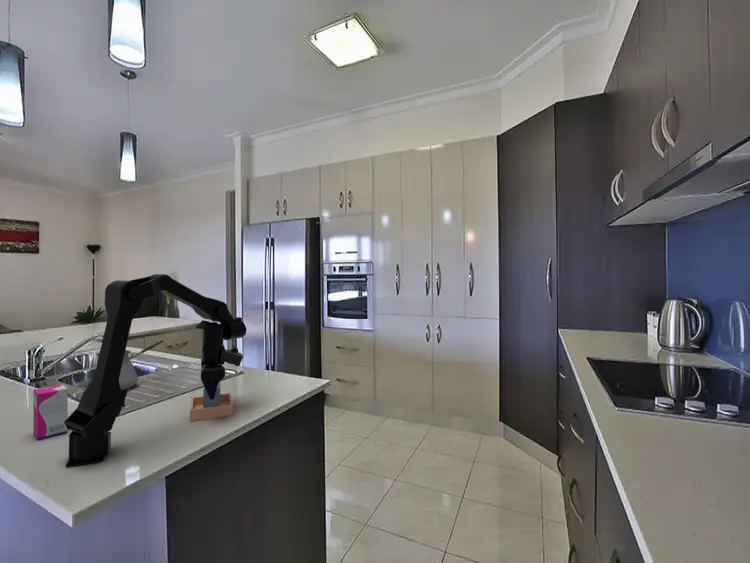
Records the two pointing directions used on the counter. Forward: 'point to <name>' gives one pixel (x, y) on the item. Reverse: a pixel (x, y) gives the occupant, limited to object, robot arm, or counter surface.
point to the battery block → (213, 402)
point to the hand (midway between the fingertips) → (211, 394)
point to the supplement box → (50, 411)
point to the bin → (211, 408)
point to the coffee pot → (131, 368)
